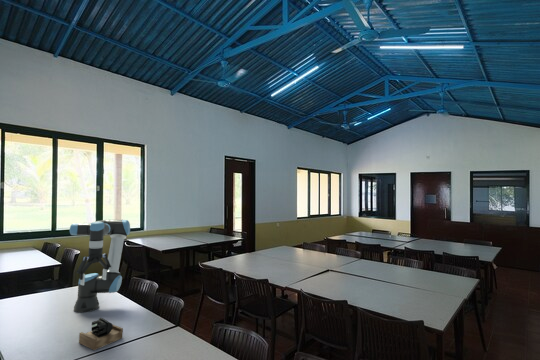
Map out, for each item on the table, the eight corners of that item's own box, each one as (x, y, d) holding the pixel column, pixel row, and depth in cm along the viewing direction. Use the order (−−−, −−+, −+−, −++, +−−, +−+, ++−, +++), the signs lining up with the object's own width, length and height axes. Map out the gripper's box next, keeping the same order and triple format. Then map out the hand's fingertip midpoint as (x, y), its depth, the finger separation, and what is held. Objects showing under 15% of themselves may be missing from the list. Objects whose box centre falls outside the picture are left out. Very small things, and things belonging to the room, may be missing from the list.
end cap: (112, 333, 166) (113, 321, 166) (99, 338, 160) (100, 325, 160) (103, 328, 172) (104, 316, 172) (90, 332, 166) (91, 320, 166)
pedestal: (107, 331, 176) (107, 322, 176) (122, 338, 169) (122, 328, 170) (78, 343, 162) (79, 332, 162) (94, 350, 155) (95, 339, 156)
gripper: (111, 244, 198) (108, 276, 197) (71, 249, 176) (68, 286, 175) (118, 245, 194) (116, 278, 193) (78, 251, 172) (75, 288, 171)
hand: (93, 282), depth 184 cm, fingers open, 13 cm apart
